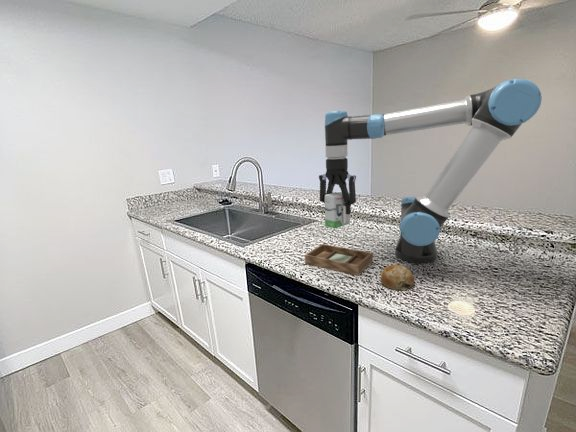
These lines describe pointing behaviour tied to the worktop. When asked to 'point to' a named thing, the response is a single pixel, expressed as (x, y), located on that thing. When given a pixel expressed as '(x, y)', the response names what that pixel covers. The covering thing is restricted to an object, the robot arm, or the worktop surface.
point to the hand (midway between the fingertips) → (337, 221)
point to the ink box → (334, 210)
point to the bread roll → (397, 277)
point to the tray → (339, 259)
